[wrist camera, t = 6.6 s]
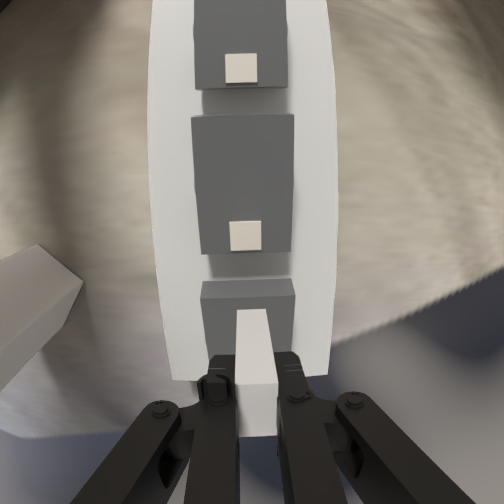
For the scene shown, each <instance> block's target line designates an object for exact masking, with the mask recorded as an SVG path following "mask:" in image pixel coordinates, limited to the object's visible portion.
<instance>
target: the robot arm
mask: <svg viewBox="0 0 504 504" xmlns="http://www.w3.org/2000/svg"><path fill="white" fill-rule="evenodd" d="M10 1H11V0H0V12H1V11H2V10H3V9H4V7H5V6H6V5H7V4H8V3H9V2H10ZM197 387H198V394H199V402H198V403H196V404H194V405H192V406H188V407H183V408H178V406H177V405H176V404H175V403H173V402H170V401H164V400H160V401H155V402H152V403H150V404H148V405H147V406H146V407H145V408H144V409H143V410H142V412H141V413H140V414H139V416H138V417H137V418H136V420H135V421H134V422H133V423H132V425H131V426H130V427H129V429H128V430H127V431H126V432H125V434H124V435H123V436H122V438H121V439H120V440H119V442H118V443H117V444H116V445H115V447H114V448H113V450H112V451H111V452H110V453H109V454H108V456H107V457H106V458H105V460H104V461H103V462H102V463H101V465H100V466H99V467H98V469H97V470H96V471H95V472H94V474H93V475H92V476H91V477H90V479H89V480H88V481H87V483H86V484H85V485H84V486H83V488H82V489H81V490H80V492H79V493H78V494H77V495H76V497H75V498H74V499H73V500H72V502H71V503H70V504H167V502H168V500H169V498H170V496H171V494H172V493H173V491H174V489H175V487H176V485H177V483H178V481H179V479H180V477H181V475H182V473H183V471H184V469H185V467H186V466H187V463H188V461H189V458H190V463H189V470H188V477H187V483H186V490H185V497H184V504H240V446H239V437H253V436H272V435H277V433H278V445H277V456H279V461H280V468H281V475H282V484H283V492H284V500H285V504H348V503H347V500H346V496H345V492H344V489H343V486H342V482H341V479H340V476H339V473H338V469H337V466H338V467H339V469H340V470H341V472H342V473H343V475H344V476H345V477H346V479H347V480H348V482H349V483H350V485H351V486H352V488H353V489H354V490H355V492H356V493H357V495H358V496H359V497H360V499H361V500H362V502H363V503H364V504H476V503H475V502H474V501H473V500H472V499H470V498H469V496H467V495H466V494H465V493H464V492H463V491H462V490H461V489H460V488H459V487H458V486H457V485H456V484H455V483H454V482H453V481H452V480H451V479H450V478H449V477H448V476H447V475H446V474H445V473H444V472H443V471H442V470H441V469H440V468H439V467H438V466H437V465H436V464H435V463H434V462H433V461H432V460H431V459H430V458H429V457H428V456H427V455H426V454H425V453H424V452H423V451H422V450H421V449H420V448H419V447H418V446H417V445H416V444H415V443H414V442H413V441H412V440H411V439H410V438H409V437H408V436H407V435H406V434H405V433H404V432H403V431H402V430H401V429H400V428H399V427H398V426H397V425H396V424H395V423H394V422H393V421H392V420H391V419H390V417H389V416H388V415H387V414H385V412H384V411H383V410H382V409H381V408H380V407H379V406H378V405H377V404H376V403H375V402H374V401H373V400H372V399H371V398H370V397H369V396H367V395H366V394H363V393H361V392H346V393H344V394H342V395H340V396H339V397H338V398H337V401H330V400H324V399H320V398H318V397H316V396H315V394H314V393H313V392H312V391H311V390H309V388H308V384H307V381H306V378H305V374H304V371H303V368H302V365H301V361H300V358H299V356H298V355H297V354H296V353H294V352H293V351H287V352H273V349H272V343H271V337H270V331H269V325H268V320H267V314H266V309H247V310H237V328H236V355H214V356H213V357H212V358H211V360H210V361H209V365H208V372H207V374H206V375H203V376H202V377H201V378H199V380H198V382H197ZM336 464H337V466H336Z"/></svg>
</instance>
